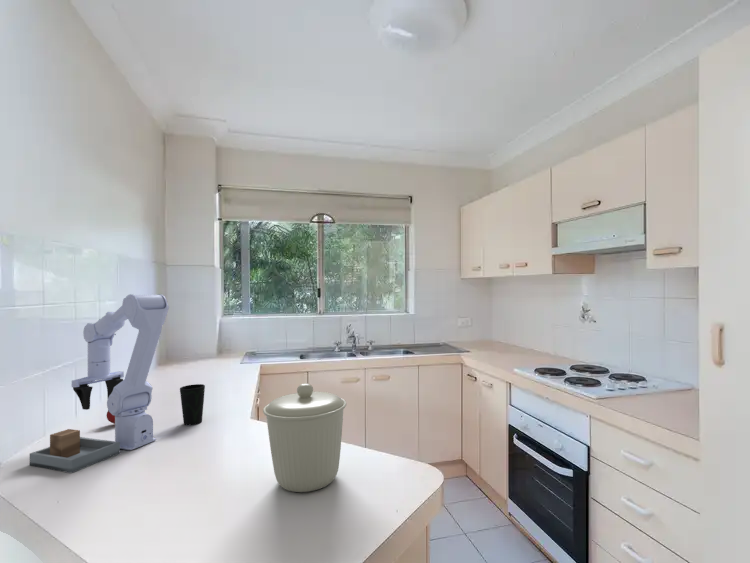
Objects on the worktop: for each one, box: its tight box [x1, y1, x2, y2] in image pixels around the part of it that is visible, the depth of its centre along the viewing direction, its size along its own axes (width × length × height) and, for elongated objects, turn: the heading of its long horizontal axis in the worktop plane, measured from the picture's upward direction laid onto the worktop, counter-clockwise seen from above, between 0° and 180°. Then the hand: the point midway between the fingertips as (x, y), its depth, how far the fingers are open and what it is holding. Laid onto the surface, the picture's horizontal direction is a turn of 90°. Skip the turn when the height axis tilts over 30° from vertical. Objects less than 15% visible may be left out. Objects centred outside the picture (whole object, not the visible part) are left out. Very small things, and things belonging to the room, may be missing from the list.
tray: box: [29, 436, 121, 474], centre depth 99 cm, size 16×12×3 cm
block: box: [49, 428, 81, 458], centre depth 100 cm, size 4×4×6 cm
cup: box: [179, 383, 206, 426], centre depth 127 cm, size 8×8×12 cm
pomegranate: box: [105, 409, 115, 425], centre depth 128 cm, size 6×6×8 cm
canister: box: [262, 382, 347, 493], centre depth 83 cm, size 18×18×21 cm
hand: (99, 405), depth 117 cm, fingers open, 7 cm apart
